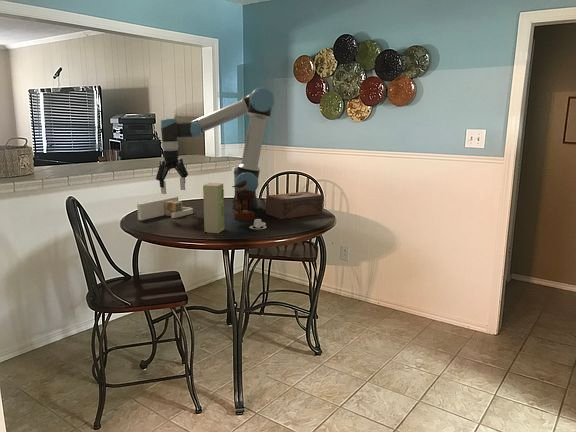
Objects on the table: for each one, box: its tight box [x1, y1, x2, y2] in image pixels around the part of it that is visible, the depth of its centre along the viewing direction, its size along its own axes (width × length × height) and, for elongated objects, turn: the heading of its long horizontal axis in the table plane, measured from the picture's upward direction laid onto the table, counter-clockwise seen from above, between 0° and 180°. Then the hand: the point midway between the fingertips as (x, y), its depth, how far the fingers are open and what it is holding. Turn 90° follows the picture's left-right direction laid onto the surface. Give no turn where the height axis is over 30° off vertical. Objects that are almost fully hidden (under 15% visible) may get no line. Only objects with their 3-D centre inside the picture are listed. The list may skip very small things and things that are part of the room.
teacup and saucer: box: [248, 218, 267, 230], centre depth 216 cm, size 9×8×4 cm
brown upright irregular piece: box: [231, 180, 256, 222], centre depth 233 cm, size 15×11×20 cm
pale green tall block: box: [202, 182, 225, 234], centre depth 207 cm, size 8×7×21 cm
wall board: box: [136, 196, 194, 221], centre depth 239 cm, size 12×28×8 cm, turn 149°
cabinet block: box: [165, 200, 183, 217], centre depth 242 cm, size 7×5×7 cm
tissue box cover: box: [265, 191, 324, 220], centre depth 246 cm, size 26×14×10 cm, turn 123°
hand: (173, 191), depth 241 cm, fingers open, 13 cm apart
